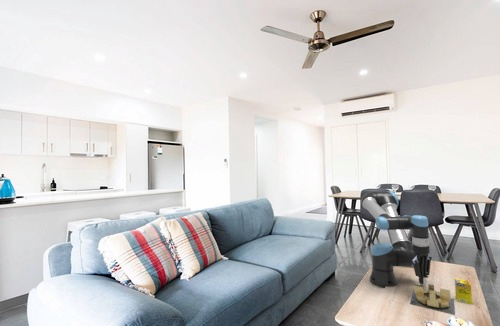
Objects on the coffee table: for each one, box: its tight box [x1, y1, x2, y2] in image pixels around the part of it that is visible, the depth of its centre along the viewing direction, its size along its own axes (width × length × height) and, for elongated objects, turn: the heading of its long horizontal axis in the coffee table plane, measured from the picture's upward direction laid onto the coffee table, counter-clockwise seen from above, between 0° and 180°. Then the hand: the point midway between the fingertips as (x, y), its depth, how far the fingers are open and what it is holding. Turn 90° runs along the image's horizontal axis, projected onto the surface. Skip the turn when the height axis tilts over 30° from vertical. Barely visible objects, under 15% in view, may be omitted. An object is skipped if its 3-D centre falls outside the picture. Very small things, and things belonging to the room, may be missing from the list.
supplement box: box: [454, 278, 473, 305], centre depth 132 cm, size 6×6×11 cm
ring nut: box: [413, 280, 452, 308], centre depth 132 cm, size 15×15×7 cm
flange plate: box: [409, 289, 456, 316], centre depth 132 cm, size 18×18×4 cm
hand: (423, 289), depth 137 cm, fingers closed
